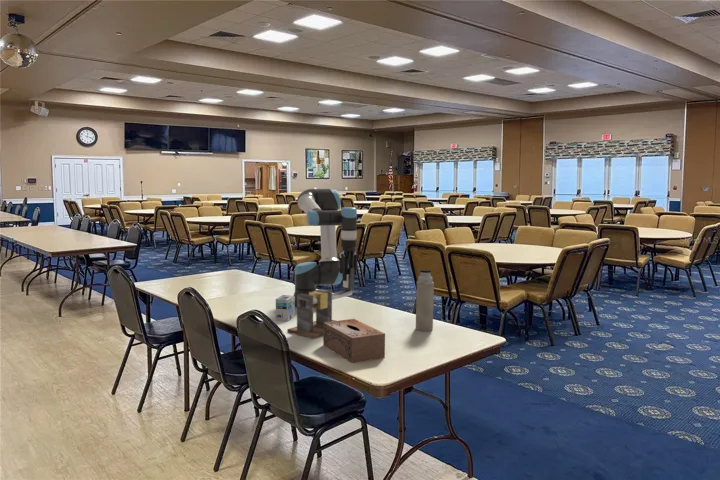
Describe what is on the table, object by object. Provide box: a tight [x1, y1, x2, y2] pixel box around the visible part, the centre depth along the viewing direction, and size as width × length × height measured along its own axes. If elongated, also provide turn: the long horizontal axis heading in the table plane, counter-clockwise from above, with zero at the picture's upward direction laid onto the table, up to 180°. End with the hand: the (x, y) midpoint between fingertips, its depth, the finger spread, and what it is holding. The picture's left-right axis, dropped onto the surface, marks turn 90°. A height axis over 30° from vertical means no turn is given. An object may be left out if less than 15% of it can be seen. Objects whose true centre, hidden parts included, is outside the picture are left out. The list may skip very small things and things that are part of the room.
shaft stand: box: [287, 288, 336, 339], centre depth 256 cm, size 26×16×18 cm, turn 143°
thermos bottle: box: [415, 269, 435, 332], centre depth 258 cm, size 8×8×28 cm
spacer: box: [309, 291, 328, 310], centre depth 254 cm, size 5×7×7 cm
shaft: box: [313, 266, 355, 305], centre depth 261 cm, size 30×5×14 cm, turn 143°
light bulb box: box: [275, 294, 296, 322], centre depth 276 cm, size 11×7×11 cm, turn 168°
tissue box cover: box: [322, 318, 386, 364], centre depth 224 cm, size 26×14×10 cm, turn 29°
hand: (348, 286), depth 272 cm, fingers closed on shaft, 3 cm apart
